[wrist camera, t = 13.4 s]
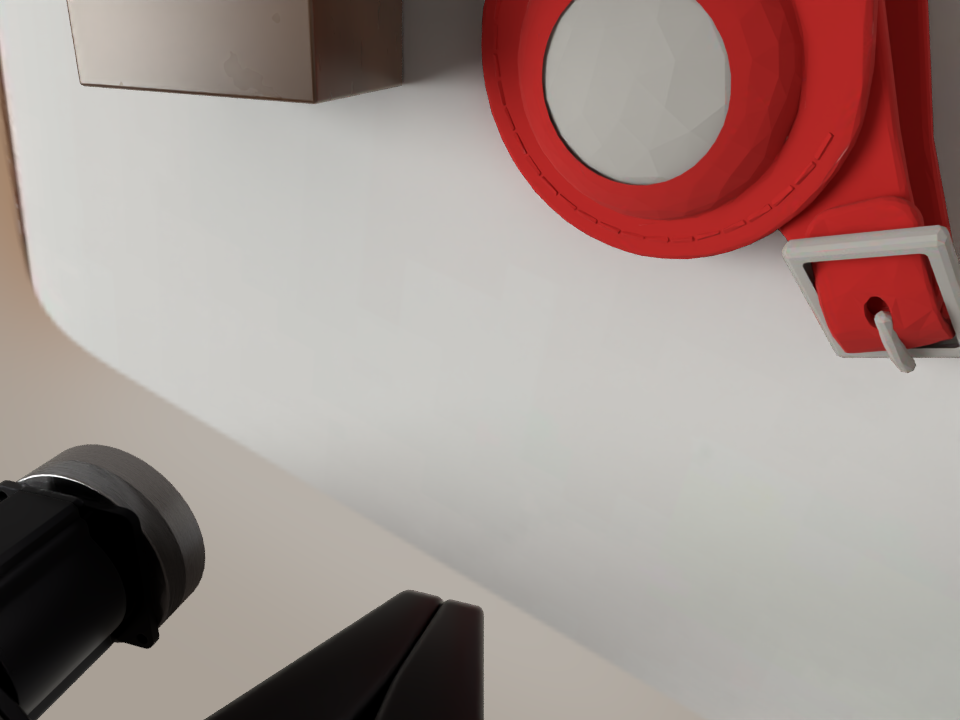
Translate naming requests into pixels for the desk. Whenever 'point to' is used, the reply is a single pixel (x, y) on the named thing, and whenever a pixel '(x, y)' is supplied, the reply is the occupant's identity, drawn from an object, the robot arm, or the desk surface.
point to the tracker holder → (744, 145)
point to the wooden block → (240, 47)
